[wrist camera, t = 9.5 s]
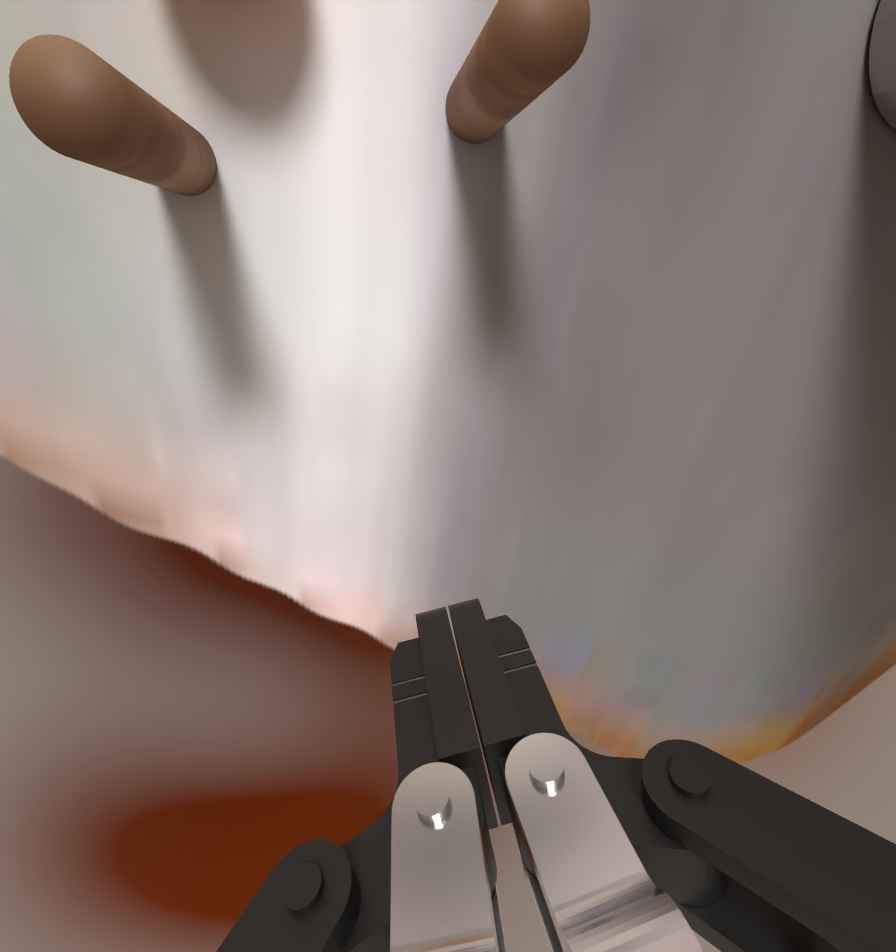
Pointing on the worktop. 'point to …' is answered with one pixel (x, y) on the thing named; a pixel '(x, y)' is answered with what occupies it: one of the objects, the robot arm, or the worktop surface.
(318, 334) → the worktop surface
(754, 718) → the worktop surface
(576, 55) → the post
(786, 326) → the worktop surface
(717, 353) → the worktop surface
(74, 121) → the post
